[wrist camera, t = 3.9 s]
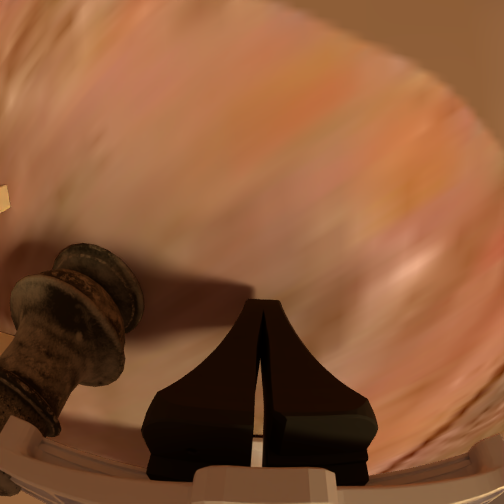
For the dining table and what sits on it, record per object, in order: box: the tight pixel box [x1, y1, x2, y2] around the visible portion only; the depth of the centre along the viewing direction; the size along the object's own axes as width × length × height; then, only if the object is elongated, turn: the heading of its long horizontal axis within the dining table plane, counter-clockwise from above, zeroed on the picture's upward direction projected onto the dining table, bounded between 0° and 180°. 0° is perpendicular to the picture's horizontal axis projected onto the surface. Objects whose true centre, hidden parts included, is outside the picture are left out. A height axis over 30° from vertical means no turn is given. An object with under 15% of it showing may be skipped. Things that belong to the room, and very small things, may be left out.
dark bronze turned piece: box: [0, 243, 144, 496], centre depth 9 cm, size 6×6×12 cm
